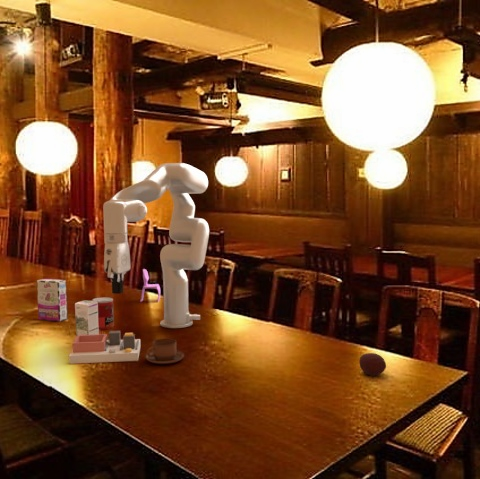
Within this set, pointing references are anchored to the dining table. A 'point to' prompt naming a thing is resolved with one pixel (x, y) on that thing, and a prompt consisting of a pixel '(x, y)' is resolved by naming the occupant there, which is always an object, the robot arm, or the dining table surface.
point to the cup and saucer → (164, 352)
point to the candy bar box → (52, 299)
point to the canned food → (105, 313)
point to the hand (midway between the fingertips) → (117, 293)
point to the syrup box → (86, 318)
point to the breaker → (114, 338)
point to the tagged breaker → (129, 340)
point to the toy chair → (149, 285)
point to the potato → (372, 364)
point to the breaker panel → (101, 350)
